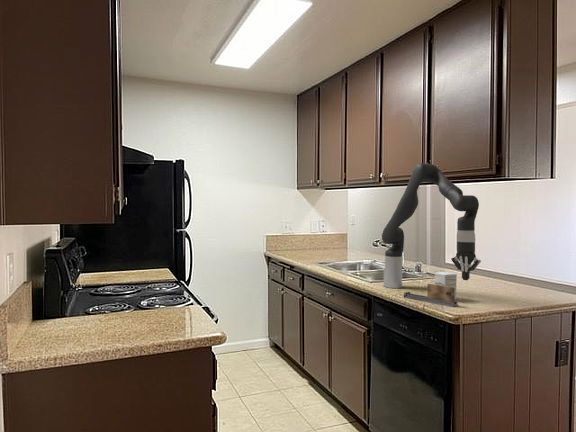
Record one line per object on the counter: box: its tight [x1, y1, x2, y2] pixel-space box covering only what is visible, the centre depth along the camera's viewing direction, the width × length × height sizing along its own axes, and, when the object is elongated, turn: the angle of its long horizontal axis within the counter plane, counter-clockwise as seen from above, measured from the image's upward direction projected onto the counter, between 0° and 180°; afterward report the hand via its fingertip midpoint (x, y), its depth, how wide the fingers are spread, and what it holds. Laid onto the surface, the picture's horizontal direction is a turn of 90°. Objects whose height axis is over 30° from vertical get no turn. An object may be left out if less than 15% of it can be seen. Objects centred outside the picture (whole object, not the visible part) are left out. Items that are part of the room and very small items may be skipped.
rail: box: [403, 291, 459, 308], centre depth 202 cm, size 26×4×2 cm, turn 40°
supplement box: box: [434, 271, 458, 301], centre depth 208 cm, size 7×7×13 cm
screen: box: [426, 283, 455, 303], centre depth 197 cm, size 13×2×7 cm, turn 40°
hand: (465, 280), depth 188 cm, fingers closed
